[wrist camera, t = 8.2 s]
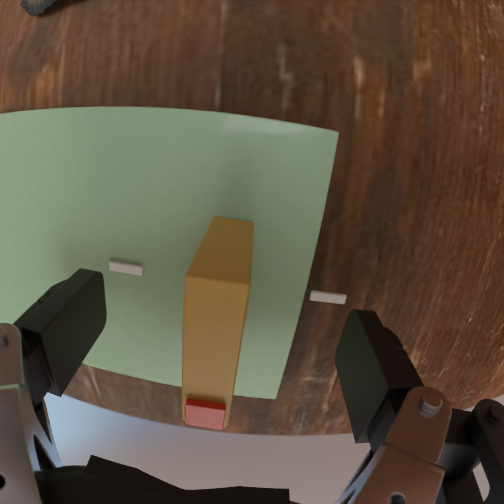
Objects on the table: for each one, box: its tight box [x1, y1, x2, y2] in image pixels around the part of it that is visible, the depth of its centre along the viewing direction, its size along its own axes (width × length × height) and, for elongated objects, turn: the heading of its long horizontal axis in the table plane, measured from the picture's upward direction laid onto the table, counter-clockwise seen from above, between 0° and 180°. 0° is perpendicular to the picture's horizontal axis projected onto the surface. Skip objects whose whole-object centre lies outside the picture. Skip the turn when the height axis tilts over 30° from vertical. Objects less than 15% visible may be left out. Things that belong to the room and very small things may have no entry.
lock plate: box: [0, 106, 347, 399], centre depth 13 cm, size 20×12×3 cm, turn 82°
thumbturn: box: [182, 217, 254, 430], centre depth 10 cm, size 5×1×5 cm, turn 172°
